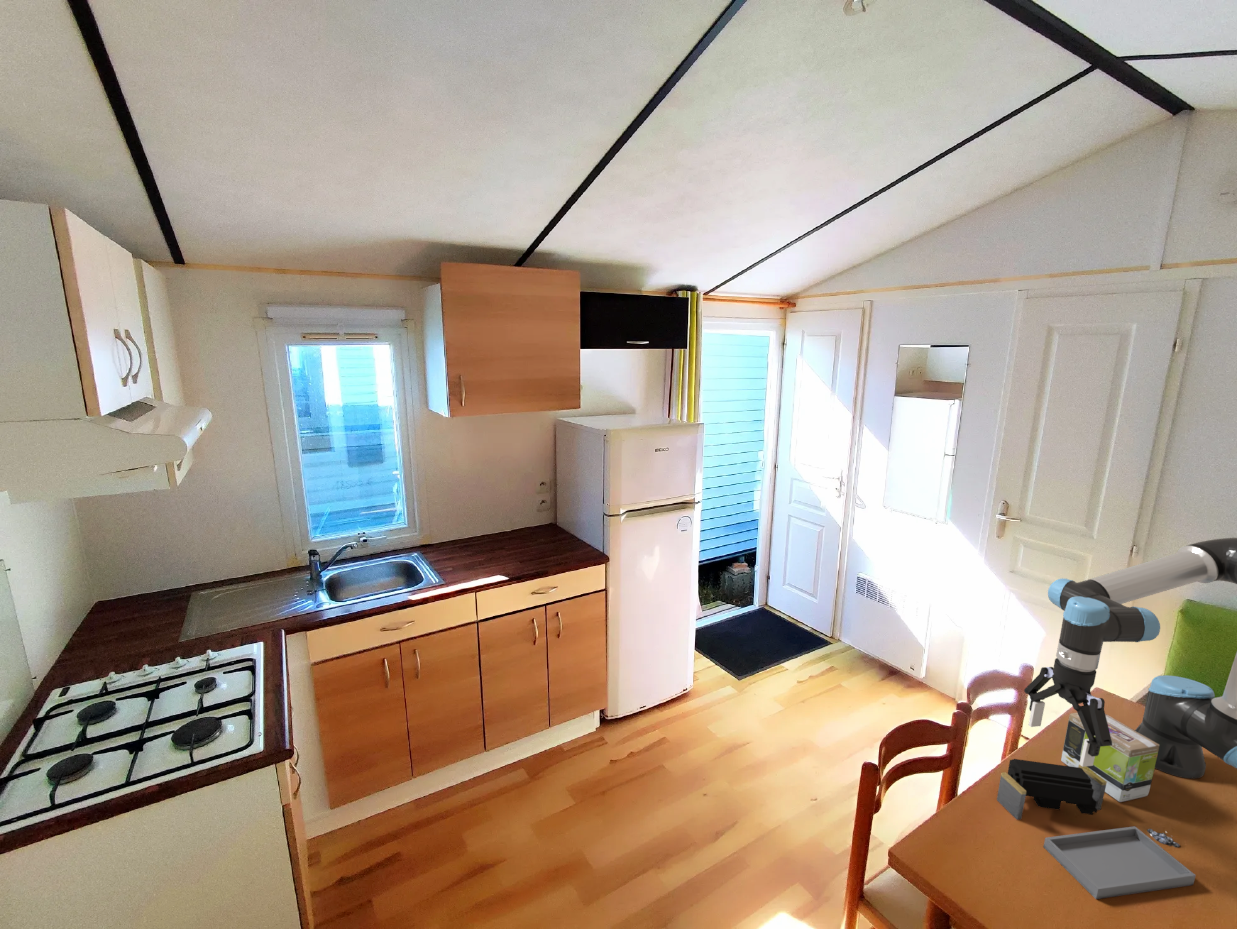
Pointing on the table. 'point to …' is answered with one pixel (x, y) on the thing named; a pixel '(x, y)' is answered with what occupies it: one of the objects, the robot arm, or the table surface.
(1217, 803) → the table surface
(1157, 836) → the blueberries
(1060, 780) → the security camera
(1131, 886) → the tray
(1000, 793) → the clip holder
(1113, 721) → the tea box
